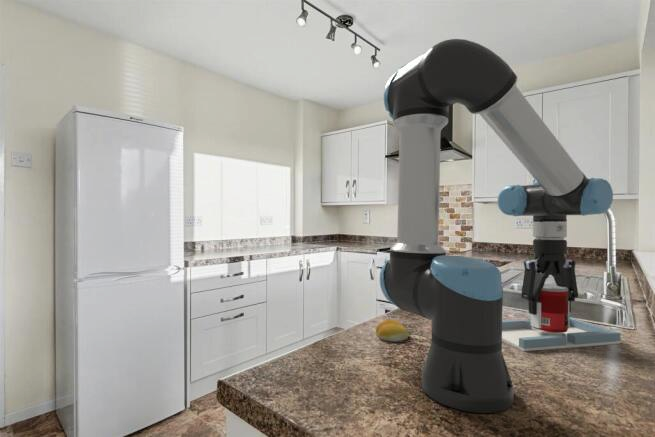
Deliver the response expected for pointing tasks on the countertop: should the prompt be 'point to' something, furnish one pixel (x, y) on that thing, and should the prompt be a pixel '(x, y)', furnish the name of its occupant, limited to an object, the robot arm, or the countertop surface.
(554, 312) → the canned food
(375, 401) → the countertop surface
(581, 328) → the track
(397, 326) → the bread roll
